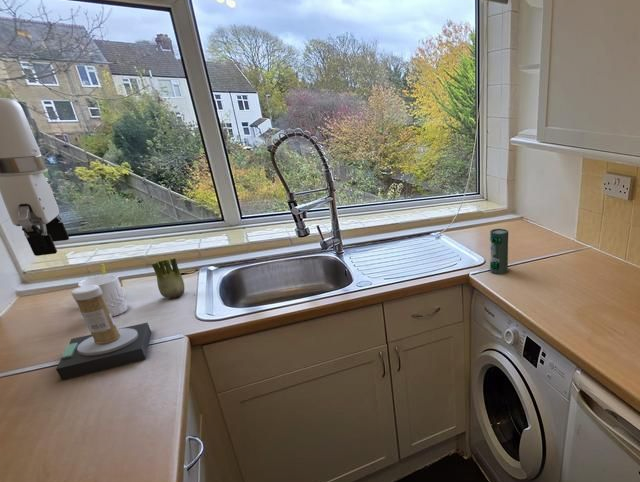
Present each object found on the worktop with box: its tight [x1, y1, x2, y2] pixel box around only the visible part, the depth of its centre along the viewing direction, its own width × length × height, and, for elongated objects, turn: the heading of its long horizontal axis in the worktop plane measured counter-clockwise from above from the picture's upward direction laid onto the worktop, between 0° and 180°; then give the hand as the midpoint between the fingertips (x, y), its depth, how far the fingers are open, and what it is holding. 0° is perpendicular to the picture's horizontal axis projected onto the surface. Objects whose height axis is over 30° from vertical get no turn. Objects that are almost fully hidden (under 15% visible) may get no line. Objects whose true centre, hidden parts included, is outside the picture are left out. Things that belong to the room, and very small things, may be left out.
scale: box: [55, 322, 152, 381], centre depth 96 cm, size 14×14×4 cm
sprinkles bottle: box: [70, 285, 120, 344], centre depth 92 cm, size 5×5×14 cm
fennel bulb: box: [151, 257, 185, 299], centre depth 121 cm, size 6×5×12 cm
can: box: [489, 228, 509, 275], centre depth 145 cm, size 6×6×15 cm
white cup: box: [77, 274, 129, 317], centre depth 112 cm, size 8×8×10 cm
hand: (53, 247), depth 86 cm, fingers open, 9 cm apart
